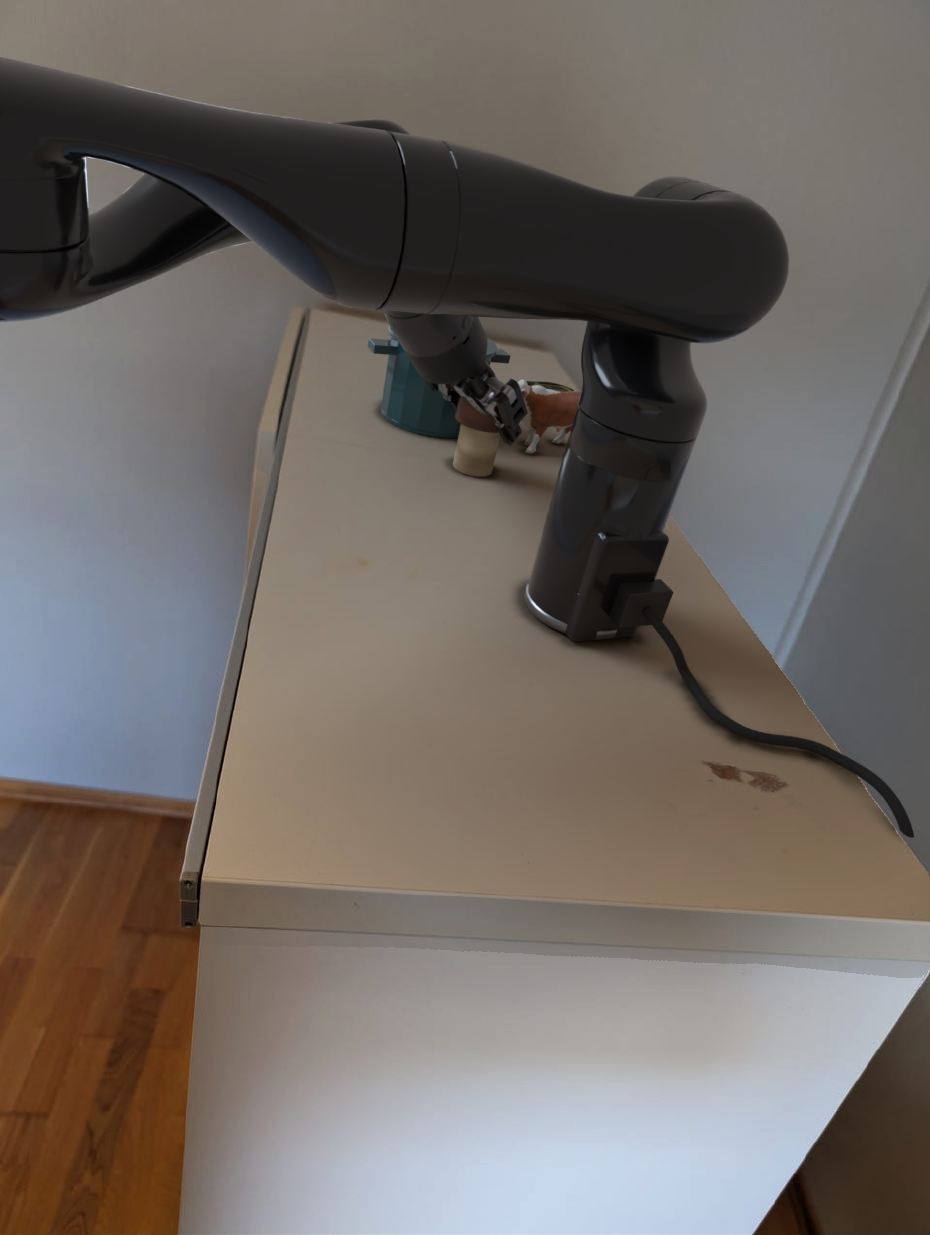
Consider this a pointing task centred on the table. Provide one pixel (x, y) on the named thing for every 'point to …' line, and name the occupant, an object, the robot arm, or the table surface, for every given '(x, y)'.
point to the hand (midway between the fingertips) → (491, 426)
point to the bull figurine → (547, 412)
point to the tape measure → (550, 386)
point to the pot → (416, 394)
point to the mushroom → (475, 440)
